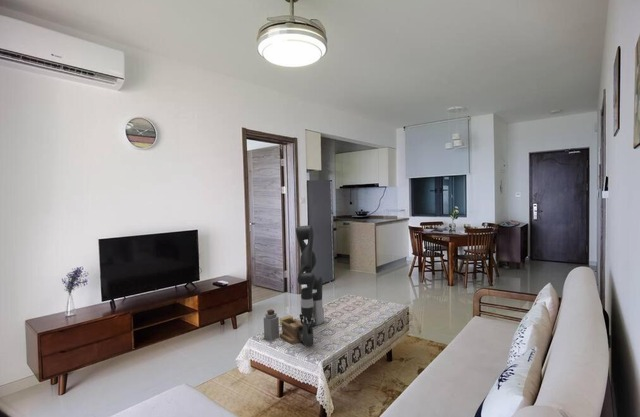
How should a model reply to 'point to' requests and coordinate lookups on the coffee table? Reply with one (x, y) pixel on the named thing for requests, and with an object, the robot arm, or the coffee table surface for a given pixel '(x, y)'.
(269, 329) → the perfume bottle
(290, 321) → the spacer
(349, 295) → the coffee table surface
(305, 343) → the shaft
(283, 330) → the guide block
